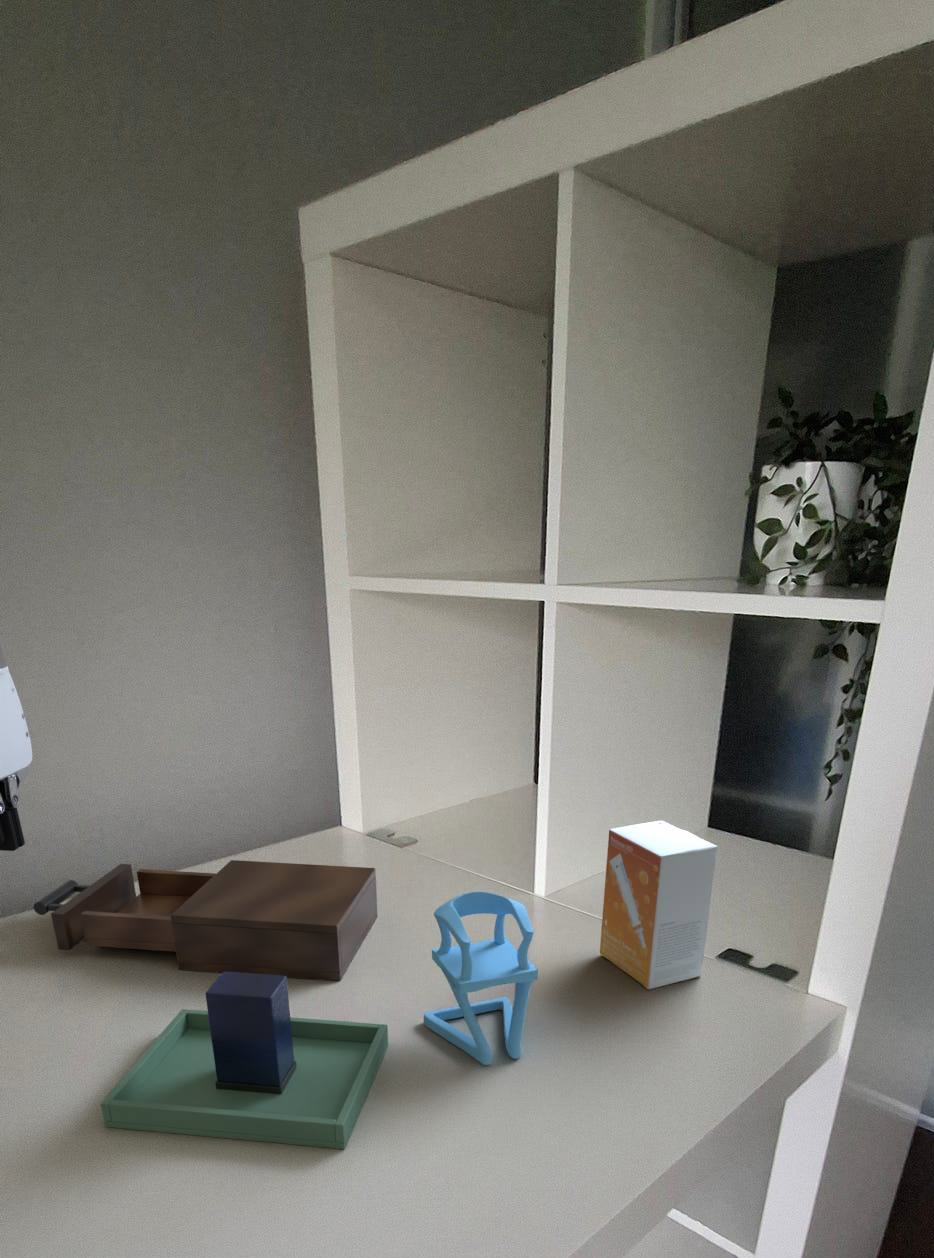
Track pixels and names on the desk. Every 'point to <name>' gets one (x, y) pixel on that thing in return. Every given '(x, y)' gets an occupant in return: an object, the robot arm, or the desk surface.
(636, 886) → the small box
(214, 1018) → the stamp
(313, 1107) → the tray
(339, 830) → the desk surface
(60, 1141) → the desk surface
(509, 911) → the chair
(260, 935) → the cabinet
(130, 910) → the drawer
